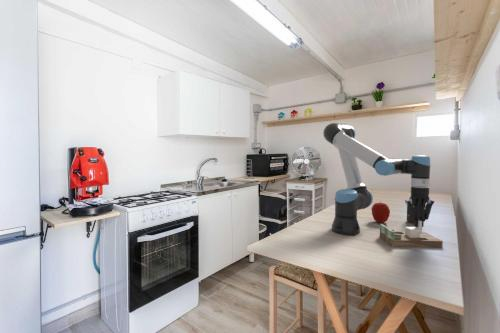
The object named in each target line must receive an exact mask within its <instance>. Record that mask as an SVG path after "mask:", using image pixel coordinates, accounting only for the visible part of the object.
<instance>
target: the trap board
mask: <svg viewBox="0 0 500 333" xmlns="http://www.w3.org/2000/svg"><path fill="white" fill-rule="evenodd" d="M379 238H381V239H382V240H383V241H385V242H386V243H388V244H389V245H390V246H391V247H407V248H408V247H410V248H411V247H413V248H443V245H444V244H443V243H444V242H443V240H441V239H440V238H438V237H435V236H434V235H431V233H428V232H426V231H422V234H420V238H410V237H409V236H407V235H405V231H402V230H401V231H396V230H395V229H393V228H392V229H391V228H390V227H388V226H386V225H384V223H379Z"/></svg>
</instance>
